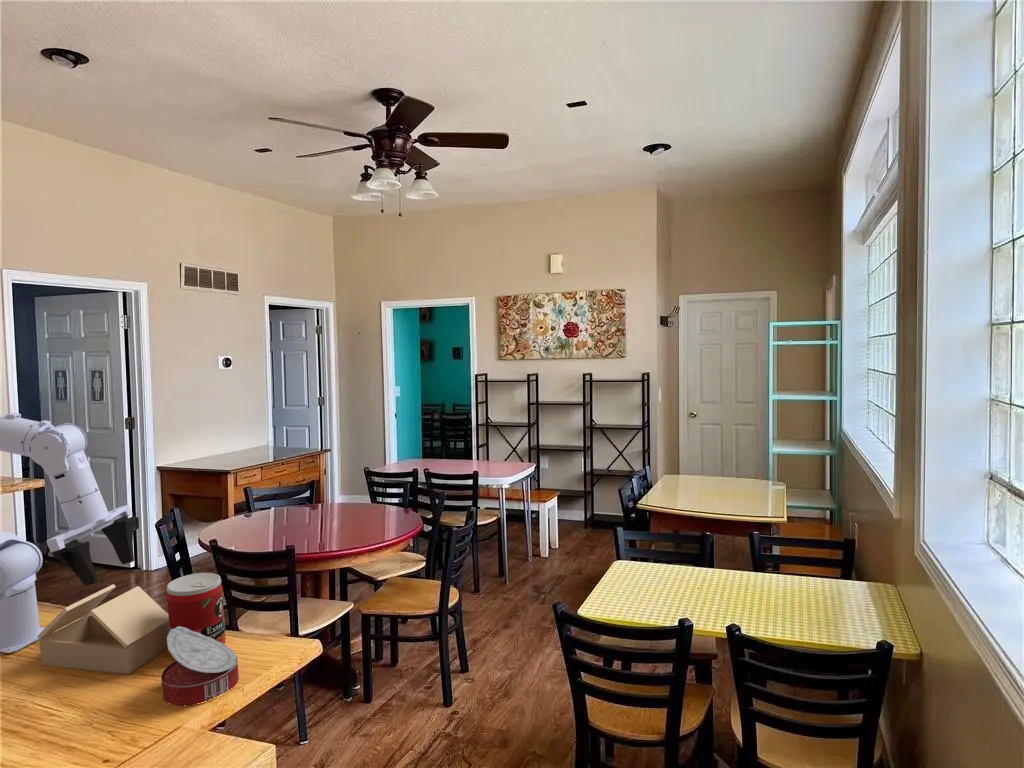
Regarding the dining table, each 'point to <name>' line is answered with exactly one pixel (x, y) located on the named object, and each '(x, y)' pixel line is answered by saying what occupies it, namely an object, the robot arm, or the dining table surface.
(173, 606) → the canned food
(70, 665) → the carton
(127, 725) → the dining table surface
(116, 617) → the flap
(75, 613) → the flap
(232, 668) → the canned food
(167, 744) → the dining table surface
